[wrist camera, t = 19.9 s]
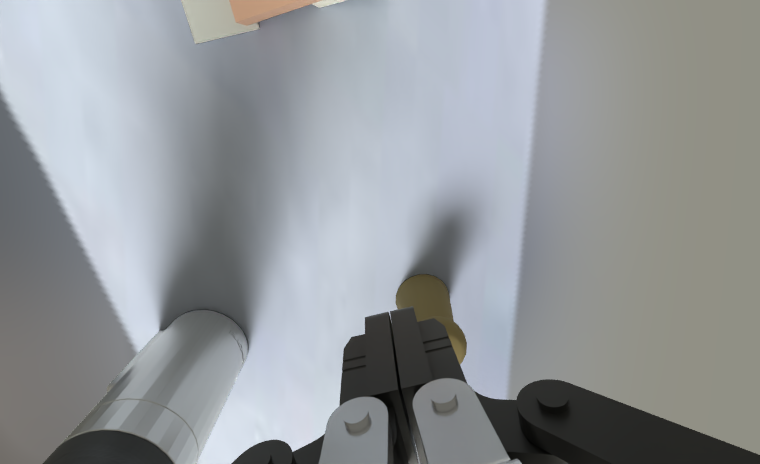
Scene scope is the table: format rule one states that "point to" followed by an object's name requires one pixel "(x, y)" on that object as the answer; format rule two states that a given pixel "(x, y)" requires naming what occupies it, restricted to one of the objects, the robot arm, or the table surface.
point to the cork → (432, 306)
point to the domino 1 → (263, 9)
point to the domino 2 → (326, 2)
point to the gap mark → (213, 20)
